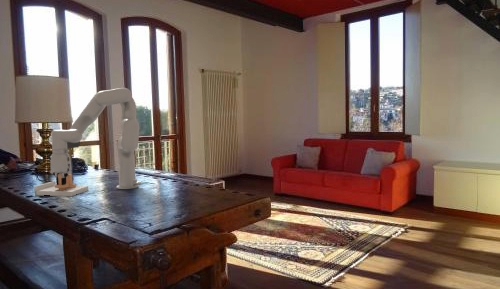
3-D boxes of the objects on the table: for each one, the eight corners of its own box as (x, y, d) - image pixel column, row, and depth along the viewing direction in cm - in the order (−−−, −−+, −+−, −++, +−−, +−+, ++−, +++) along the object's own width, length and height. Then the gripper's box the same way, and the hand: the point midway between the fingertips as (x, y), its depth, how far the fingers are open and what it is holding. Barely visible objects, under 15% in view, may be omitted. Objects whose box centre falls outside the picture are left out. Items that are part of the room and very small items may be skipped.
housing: (88, 190, 216) (87, 173, 215) (71, 196, 200) (70, 178, 199) (54, 189, 219) (53, 172, 218) (34, 195, 203) (34, 177, 202)
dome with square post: (71, 189, 209) (70, 172, 208) (63, 192, 202) (62, 175, 201) (60, 189, 210) (59, 172, 209) (52, 192, 203) (51, 174, 202)
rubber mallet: (63, 184, 235) (61, 137, 232) (58, 182, 240) (56, 137, 237) (82, 181, 244) (80, 136, 242) (77, 180, 249) (75, 136, 247)
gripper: (77, 151, 206) (78, 183, 208) (51, 151, 209) (52, 182, 210) (69, 152, 199) (70, 186, 200) (42, 152, 201) (43, 185, 203)
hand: (61, 184), depth 205 cm, fingers closed on dome with square post
